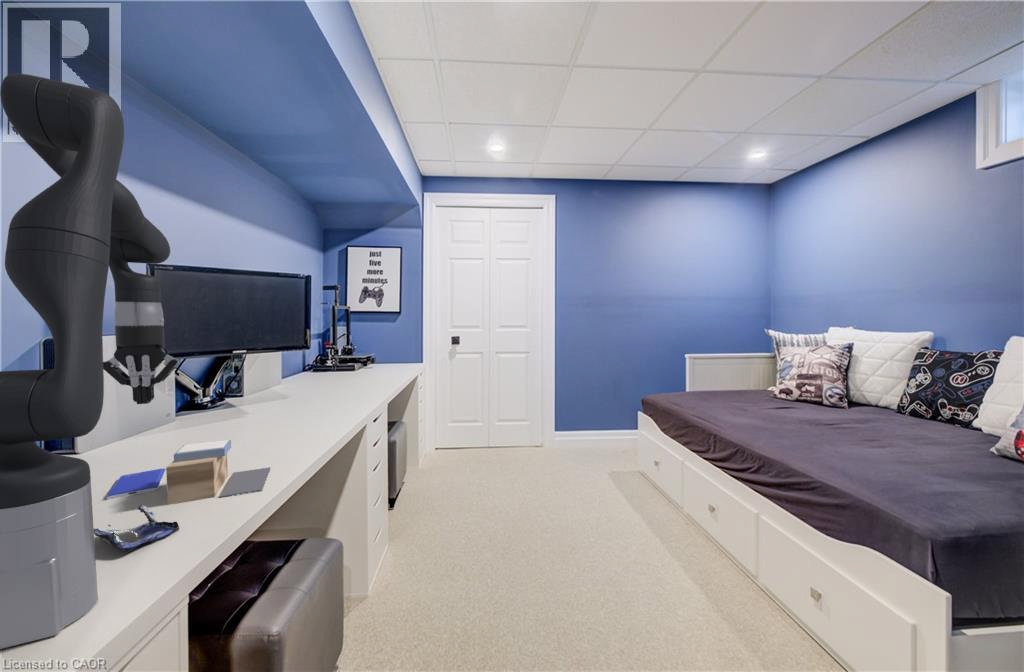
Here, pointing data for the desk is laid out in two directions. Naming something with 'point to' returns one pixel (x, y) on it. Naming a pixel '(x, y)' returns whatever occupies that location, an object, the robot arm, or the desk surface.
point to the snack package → (141, 531)
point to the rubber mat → (245, 482)
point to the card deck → (202, 451)
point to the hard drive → (137, 483)
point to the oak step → (195, 479)
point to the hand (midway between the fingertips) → (144, 403)
